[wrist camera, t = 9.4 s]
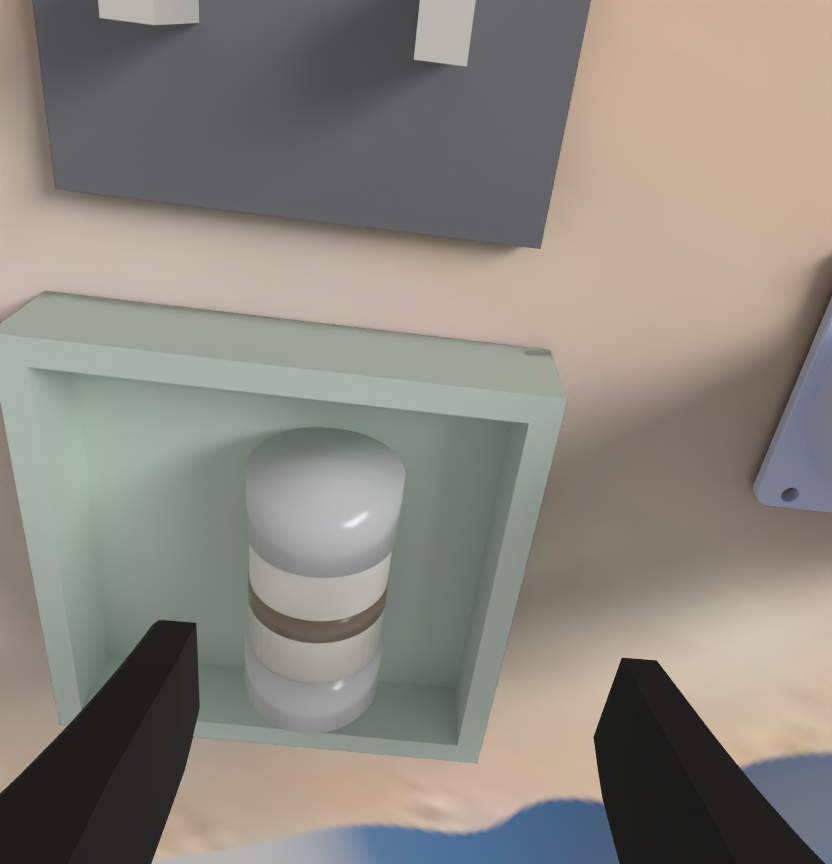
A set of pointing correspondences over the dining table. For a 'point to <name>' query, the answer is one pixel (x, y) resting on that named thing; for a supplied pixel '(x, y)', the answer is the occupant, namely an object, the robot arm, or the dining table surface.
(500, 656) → the parts tray
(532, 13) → the fuse block
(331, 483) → the fuse
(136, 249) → the dining table surface
